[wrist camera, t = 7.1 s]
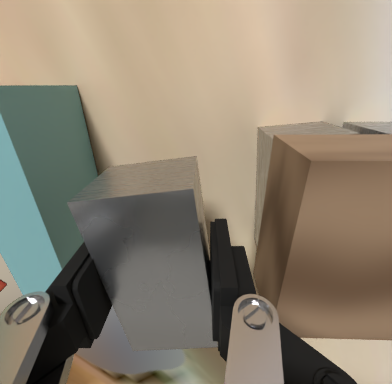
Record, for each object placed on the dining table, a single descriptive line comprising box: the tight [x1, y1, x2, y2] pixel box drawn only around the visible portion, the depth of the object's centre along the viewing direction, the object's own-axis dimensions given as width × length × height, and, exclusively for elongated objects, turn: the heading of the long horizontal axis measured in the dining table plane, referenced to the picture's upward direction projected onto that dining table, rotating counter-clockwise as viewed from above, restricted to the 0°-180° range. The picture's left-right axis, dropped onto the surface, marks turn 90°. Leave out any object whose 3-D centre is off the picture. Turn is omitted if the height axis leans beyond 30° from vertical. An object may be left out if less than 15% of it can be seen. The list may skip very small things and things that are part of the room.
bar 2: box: [254, 121, 361, 246], centre depth 14 cm, size 9×4×4 cm, turn 5°
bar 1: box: [67, 156, 218, 351], centre depth 10 cm, size 8×4×3 cm, turn 7°
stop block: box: [0, 86, 98, 295], centre depth 14 cm, size 14×3×6 cm, turn 1°
